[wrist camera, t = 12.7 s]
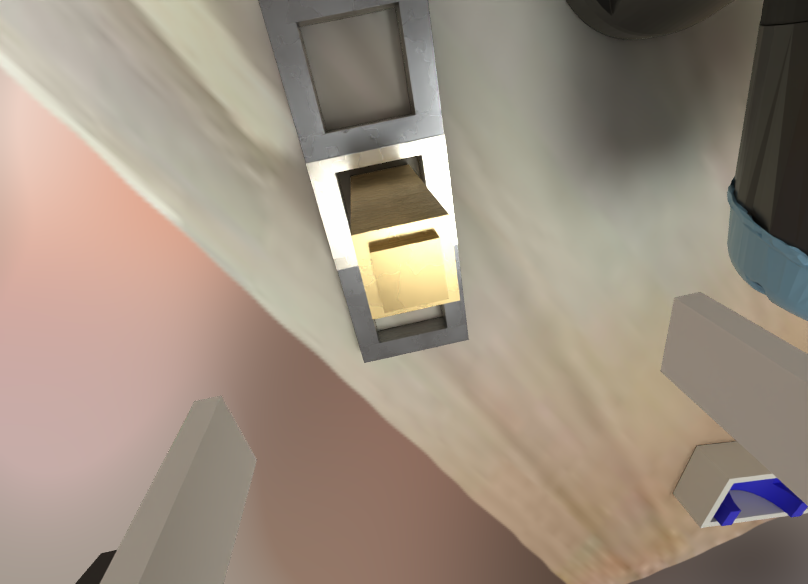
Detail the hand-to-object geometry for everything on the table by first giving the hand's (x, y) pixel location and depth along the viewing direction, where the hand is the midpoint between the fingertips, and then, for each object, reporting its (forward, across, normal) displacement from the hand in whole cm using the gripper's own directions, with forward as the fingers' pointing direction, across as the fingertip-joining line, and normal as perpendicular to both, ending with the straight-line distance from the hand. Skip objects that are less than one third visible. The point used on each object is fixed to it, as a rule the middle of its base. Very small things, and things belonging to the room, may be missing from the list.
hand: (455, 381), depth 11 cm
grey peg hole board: (+22, -1, 0) cm, 22 cm away
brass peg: (+22, 0, 0) cm, 22 cm away
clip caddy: (+22, +42, -48) cm, 67 cm away
